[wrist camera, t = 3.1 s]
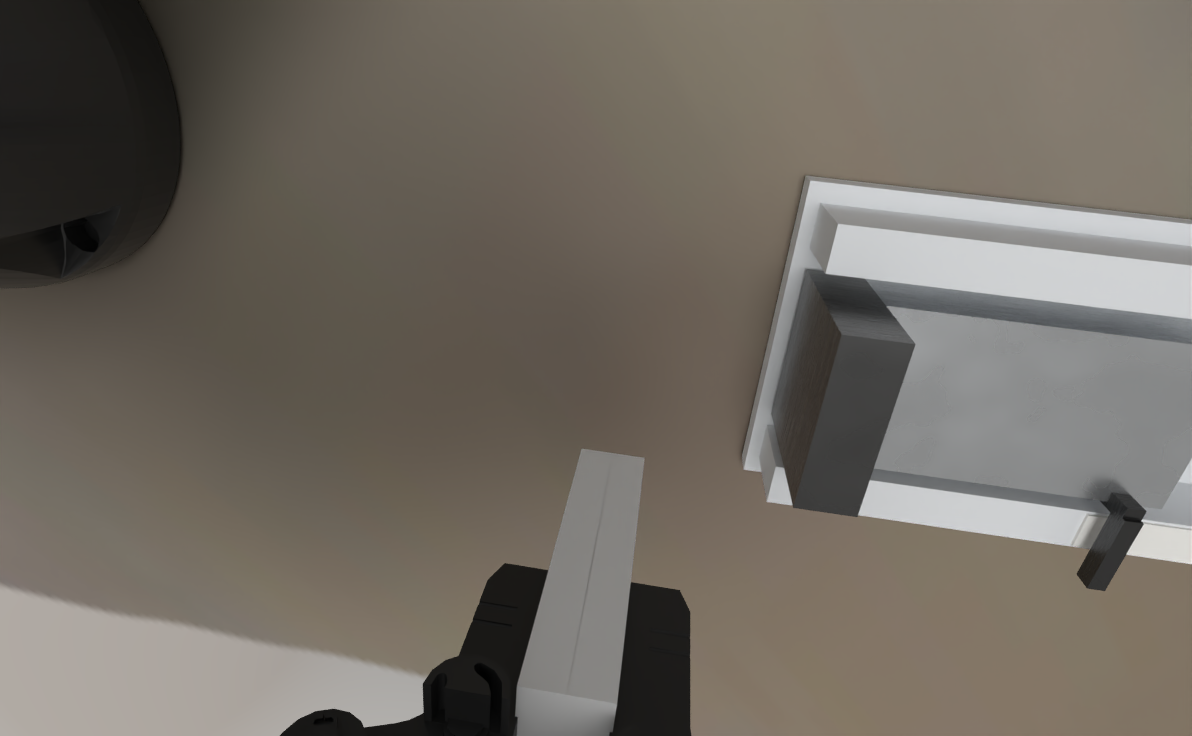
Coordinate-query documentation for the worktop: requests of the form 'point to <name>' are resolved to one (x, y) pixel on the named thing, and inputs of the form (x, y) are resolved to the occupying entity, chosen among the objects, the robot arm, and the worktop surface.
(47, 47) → the robot arm
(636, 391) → the worktop surface
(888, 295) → the block with dark end
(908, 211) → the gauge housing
